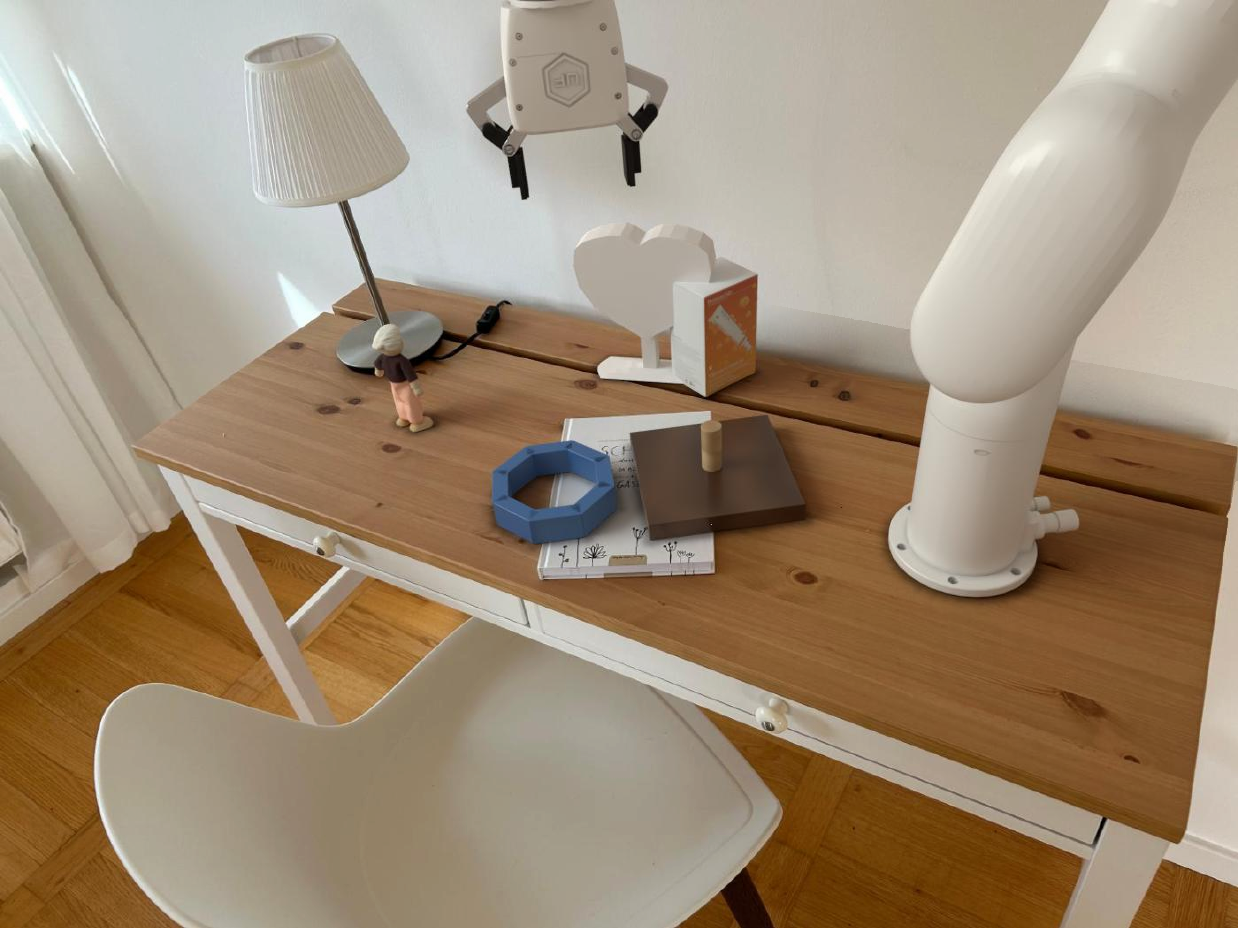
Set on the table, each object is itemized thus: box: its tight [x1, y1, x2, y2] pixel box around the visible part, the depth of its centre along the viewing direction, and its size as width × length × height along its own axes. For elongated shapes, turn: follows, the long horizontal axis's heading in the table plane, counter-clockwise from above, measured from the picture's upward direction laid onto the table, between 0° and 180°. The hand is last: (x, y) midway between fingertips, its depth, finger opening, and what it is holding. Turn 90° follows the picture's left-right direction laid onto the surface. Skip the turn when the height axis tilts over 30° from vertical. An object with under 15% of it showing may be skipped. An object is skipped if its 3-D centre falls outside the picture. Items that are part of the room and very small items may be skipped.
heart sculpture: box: [572, 222, 717, 385], centre depth 103 cm, size 16×5×18 cm, turn 76°
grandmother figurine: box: [371, 323, 434, 433], centre depth 101 cm, size 8×4×13 cm, turn 62°
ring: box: [491, 439, 618, 545], centre depth 90 cm, size 12×12×3 cm
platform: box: [629, 414, 807, 542], centre depth 90 cm, size 15×15×7 cm
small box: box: [669, 256, 759, 398], centre depth 103 cm, size 8×6×13 cm
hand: (577, 187), depth 82 cm, fingers open, 9 cm apart
